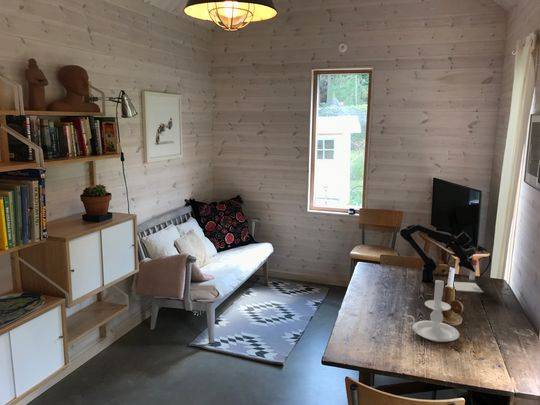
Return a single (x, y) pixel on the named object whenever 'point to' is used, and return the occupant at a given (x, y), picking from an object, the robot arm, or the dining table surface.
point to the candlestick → (435, 319)
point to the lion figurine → (441, 267)
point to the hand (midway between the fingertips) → (475, 270)
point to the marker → (472, 274)
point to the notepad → (467, 287)
